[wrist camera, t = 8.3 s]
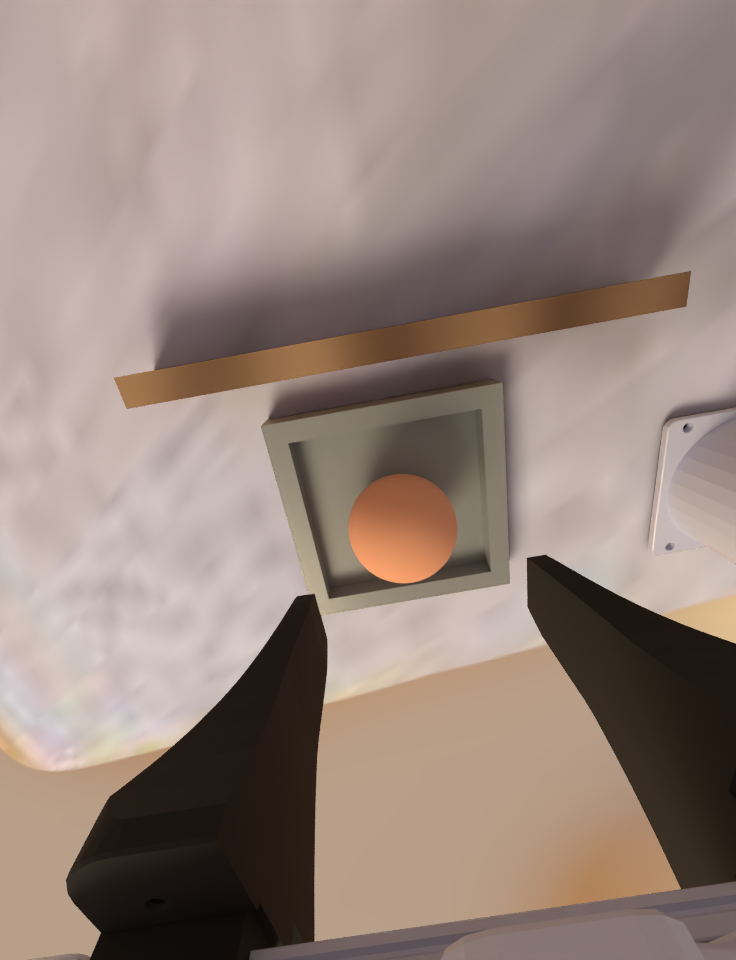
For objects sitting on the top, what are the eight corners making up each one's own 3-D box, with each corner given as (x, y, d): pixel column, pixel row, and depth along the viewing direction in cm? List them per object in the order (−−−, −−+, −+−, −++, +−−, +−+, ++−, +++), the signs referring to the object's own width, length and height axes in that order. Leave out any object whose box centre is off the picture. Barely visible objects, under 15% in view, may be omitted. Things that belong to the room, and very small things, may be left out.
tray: (491, 379, 18) (502, 382, 16) (500, 568, 22) (510, 583, 20) (267, 419, 18) (260, 426, 17) (317, 599, 22) (315, 616, 21)
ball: (437, 451, 18) (467, 490, 14) (446, 537, 20) (476, 596, 16) (339, 469, 19) (336, 513, 14) (357, 552, 20) (360, 616, 16)
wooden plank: (632, 282, 16) (690, 271, 14) (630, 311, 17) (686, 306, 14) (153, 370, 17) (113, 377, 14) (163, 397, 17) (126, 408, 14)
